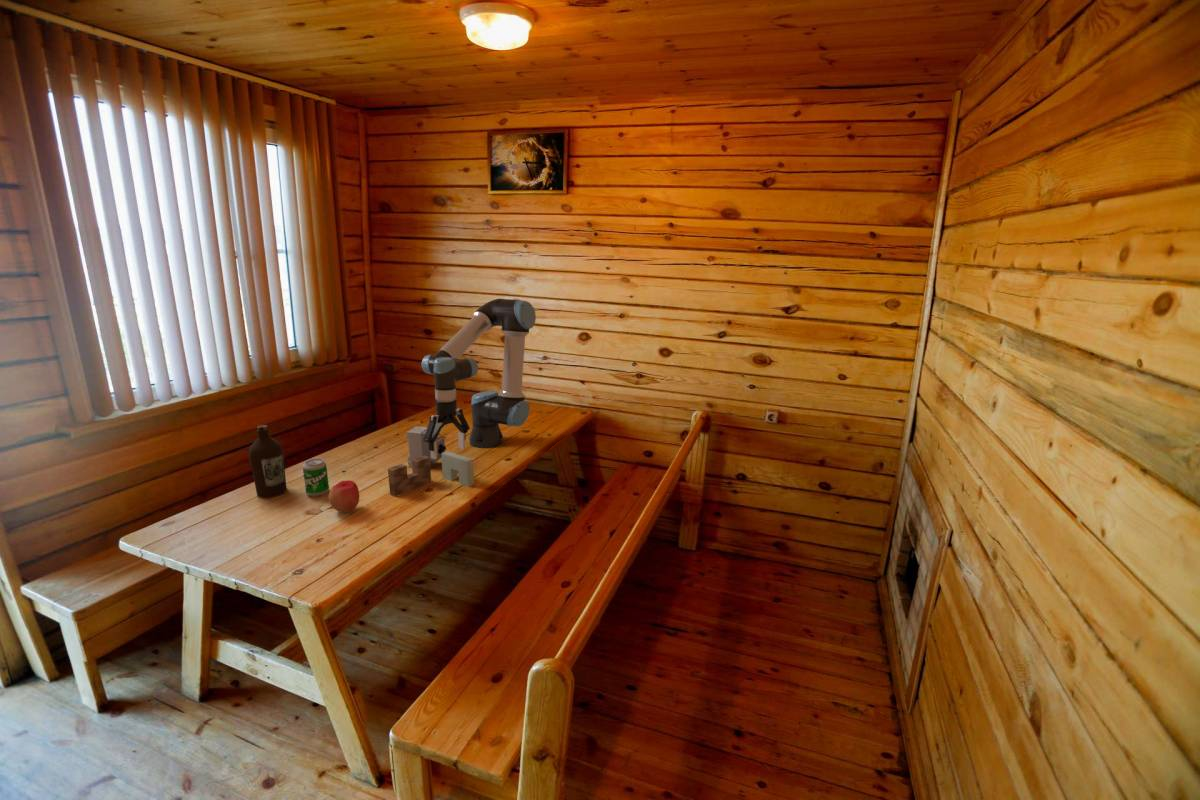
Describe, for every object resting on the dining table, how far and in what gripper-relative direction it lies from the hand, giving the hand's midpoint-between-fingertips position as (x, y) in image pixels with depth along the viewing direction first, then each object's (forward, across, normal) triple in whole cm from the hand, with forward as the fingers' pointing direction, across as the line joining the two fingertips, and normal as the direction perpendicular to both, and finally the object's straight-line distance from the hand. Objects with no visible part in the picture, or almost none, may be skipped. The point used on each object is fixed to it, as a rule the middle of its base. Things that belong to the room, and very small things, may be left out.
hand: (448, 453), depth 219 cm
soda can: (+11, +37, -27) cm, 47 cm away
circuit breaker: (+10, -4, -16) cm, 20 cm away
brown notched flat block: (+10, +14, -4) cm, 18 cm away
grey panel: (+10, 0, +4) cm, 11 cm away
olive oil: (+11, +46, -41) cm, 63 cm away
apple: (+11, +39, -6) cm, 41 cm away
